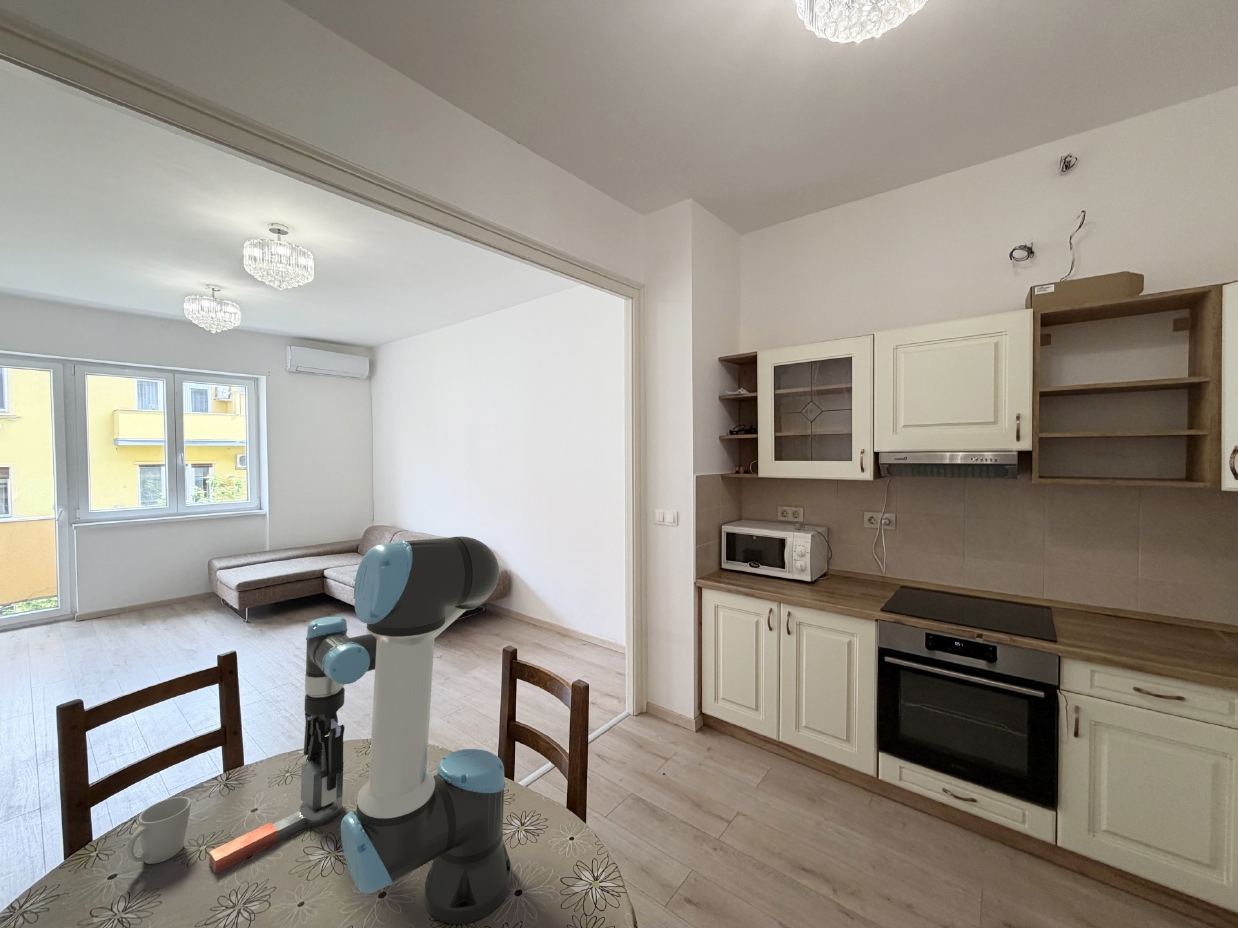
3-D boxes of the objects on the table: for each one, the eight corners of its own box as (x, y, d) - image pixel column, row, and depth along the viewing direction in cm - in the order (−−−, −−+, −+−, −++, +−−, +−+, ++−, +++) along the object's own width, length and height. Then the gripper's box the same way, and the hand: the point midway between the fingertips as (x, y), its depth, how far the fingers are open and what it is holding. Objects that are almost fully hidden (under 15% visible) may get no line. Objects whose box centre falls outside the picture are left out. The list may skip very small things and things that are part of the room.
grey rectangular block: (342, 795, 109) (343, 761, 109) (312, 810, 104) (313, 774, 104) (329, 785, 112) (330, 751, 112) (300, 798, 107) (301, 764, 107)
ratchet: (332, 796, 114) (333, 763, 114) (348, 811, 109) (349, 777, 109) (205, 858, 95) (206, 819, 95) (219, 879, 90) (220, 838, 90)
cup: (199, 841, 99) (201, 798, 99) (145, 882, 89) (147, 834, 90) (167, 836, 100) (169, 793, 101) (110, 875, 91) (112, 829, 91)
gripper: (364, 696, 106) (360, 805, 105) (324, 673, 117) (320, 771, 117) (326, 709, 100) (322, 825, 99) (288, 683, 111) (284, 787, 111)
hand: (321, 796), depth 108 cm, fingers closed on grey rectangular block, 6 cm apart
